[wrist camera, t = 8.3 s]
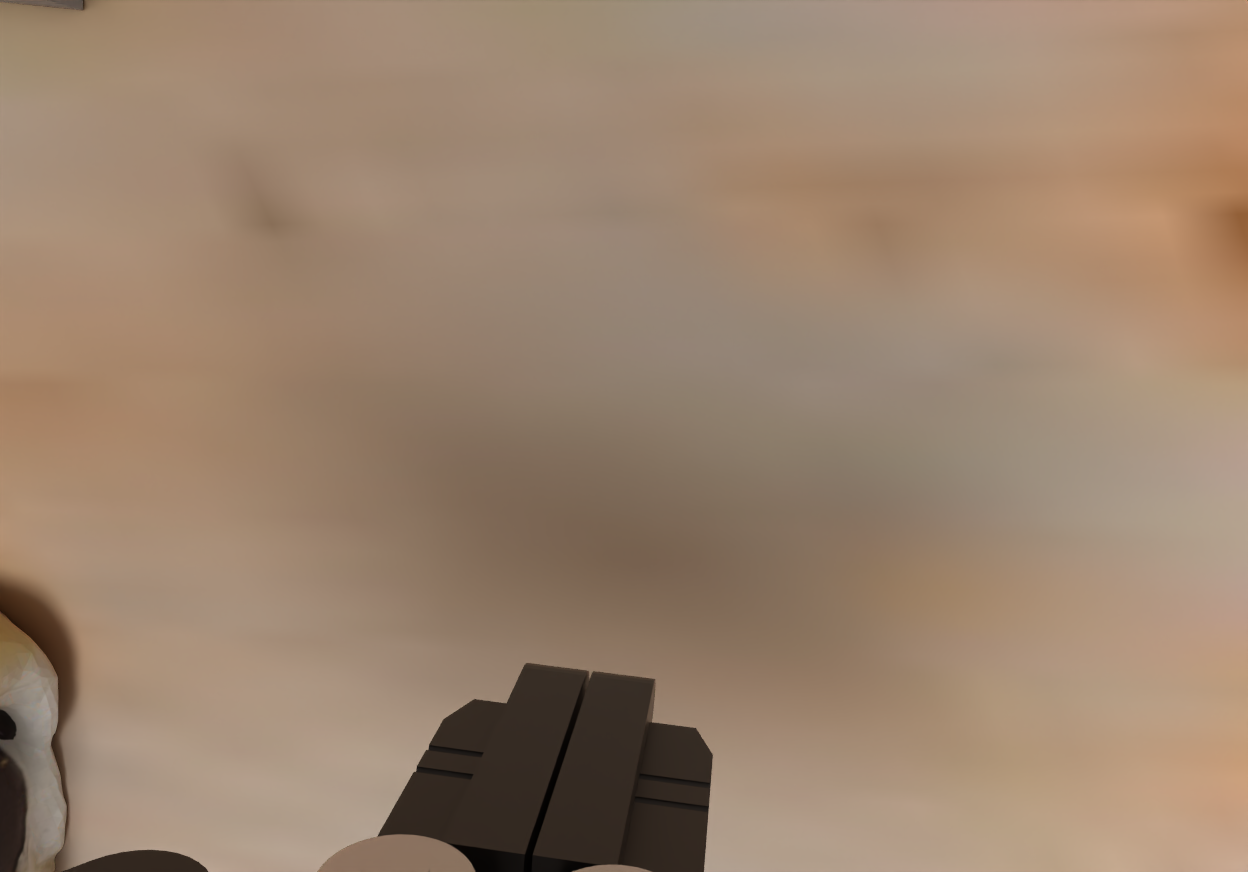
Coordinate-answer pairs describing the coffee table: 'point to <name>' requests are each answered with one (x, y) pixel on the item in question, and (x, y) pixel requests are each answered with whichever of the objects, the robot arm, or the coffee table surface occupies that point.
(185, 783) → the coffee table surface
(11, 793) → the pastry
